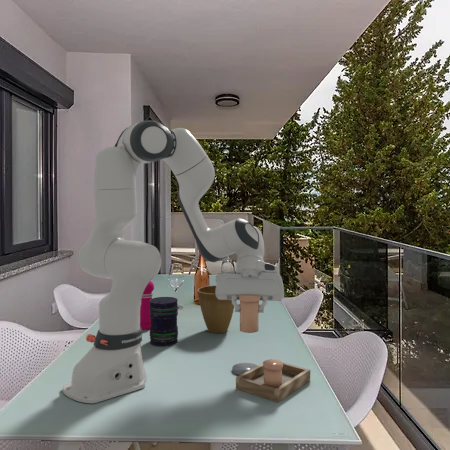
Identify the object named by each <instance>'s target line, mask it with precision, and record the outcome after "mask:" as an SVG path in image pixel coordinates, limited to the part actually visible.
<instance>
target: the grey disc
mask: <svg viewBox="0 0 450 450" xmlns="http://www.w3.org/2000/svg"><path fill="white" fill-rule="evenodd" d="M257 366H258V364H255V363H250V362H240V363H236V364H234V365H232V367H231V368H232V369H231V371H232V373H233V374H235V375H236V376H237V375H238V376H239V375H241V374H243V373H245V372H247V371H249V370H251V369H253V368H255V367H257Z"/></svg>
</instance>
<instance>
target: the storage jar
mask: <svg viewBox="0 0 450 450" xmlns="http://www.w3.org/2000/svg"><path fill="white" fill-rule="evenodd" d="M178 301H179V300H178V298H177V297H173V296H158V297H152V299H150V317H151V327H150V329H149V339H150V340H149V344H150V345H151V346H153V347H158V348H159V347H161V348H162V347H172V346H175V345H177V344H178V343H179V341H178V340H179V339H178V337H179V327H178V315H179V311H178V310H179V306H178V305H179V304H178V303H179V302H178Z"/></svg>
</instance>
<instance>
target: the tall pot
mask: <svg viewBox="0 0 450 450" xmlns="http://www.w3.org/2000/svg"><path fill="white" fill-rule="evenodd" d="M238 301H239V304H240V312H239V331H240V332H242V333H247V334H254V333H258V332H259V330H260V329H259V319H260V315H259V314H260V313H259V305H260V295H246V294H241V295H239V300H238Z"/></svg>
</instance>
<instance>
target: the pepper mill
mask: <svg viewBox="0 0 450 450" xmlns="http://www.w3.org/2000/svg"><path fill="white" fill-rule="evenodd" d="M154 290H155V284H154V282H153V281H152V280H151V281H150V282H149V283H148V284H147V286H146V288H145V290H144V292H143V295H142V298H141V305H140V327H141V328H142V331H144V330H150V327H151V317H150V299H153V298H154V294H153V293H154V292H153V291H154Z"/></svg>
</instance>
